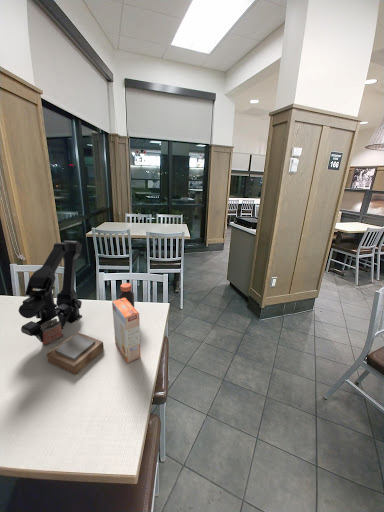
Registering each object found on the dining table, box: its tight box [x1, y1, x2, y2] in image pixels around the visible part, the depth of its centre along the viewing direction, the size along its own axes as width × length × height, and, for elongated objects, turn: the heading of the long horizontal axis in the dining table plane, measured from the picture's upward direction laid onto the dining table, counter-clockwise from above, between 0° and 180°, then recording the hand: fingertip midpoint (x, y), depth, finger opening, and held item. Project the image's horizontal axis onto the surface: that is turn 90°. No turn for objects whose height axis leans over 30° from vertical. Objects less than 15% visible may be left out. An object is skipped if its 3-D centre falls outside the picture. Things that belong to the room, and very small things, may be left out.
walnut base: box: [46, 331, 105, 376], centre depth 88 cm, size 14×14×5 cm
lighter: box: [41, 318, 64, 347], centre depth 94 cm, size 8×3×10 cm, turn 144°
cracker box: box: [111, 298, 141, 364], centre depth 89 cm, size 14×6×21 cm, turn 37°
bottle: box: [118, 282, 135, 308], centre depth 108 cm, size 7×7×20 cm
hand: (52, 335), depth 95 cm, fingers open, 9 cm apart
